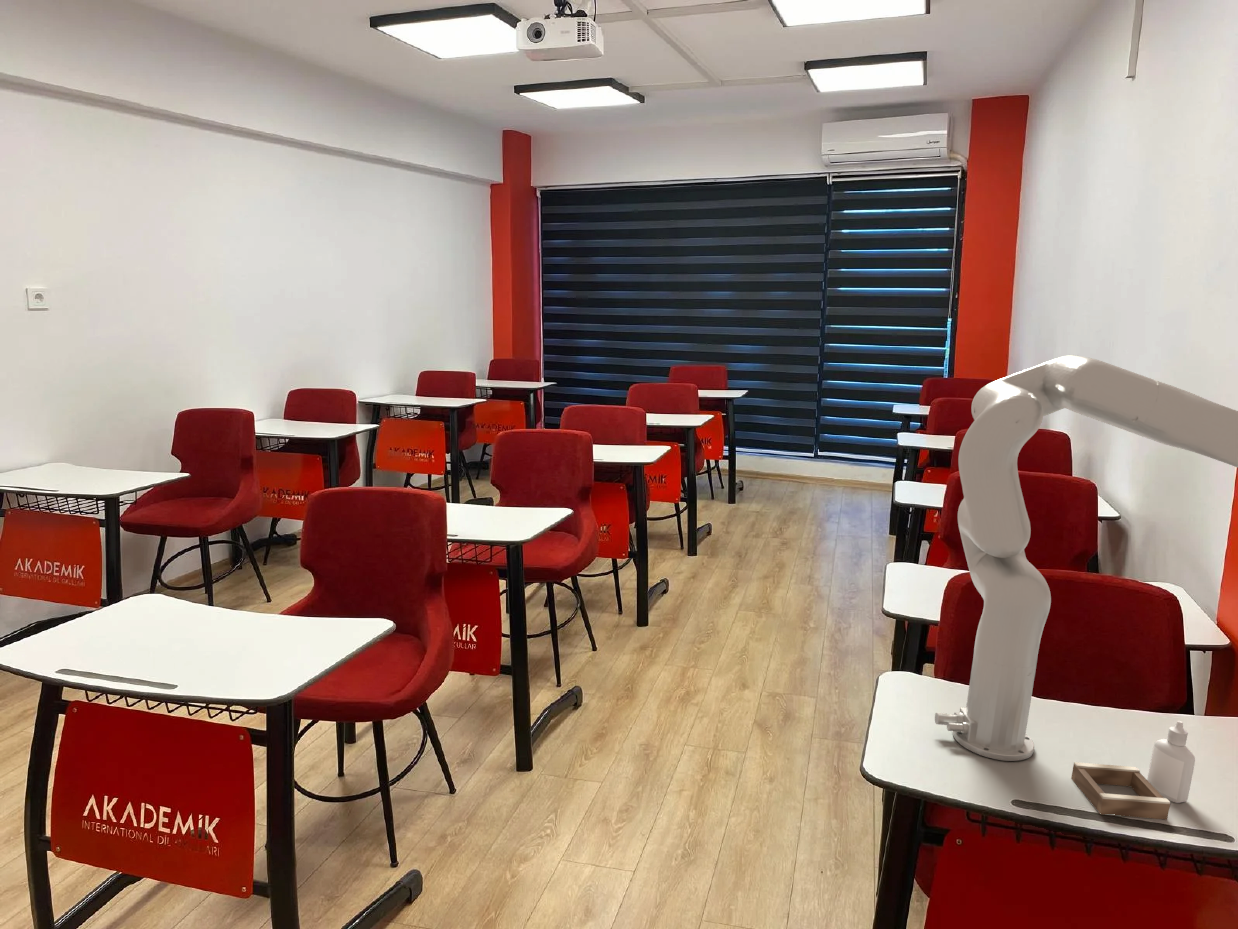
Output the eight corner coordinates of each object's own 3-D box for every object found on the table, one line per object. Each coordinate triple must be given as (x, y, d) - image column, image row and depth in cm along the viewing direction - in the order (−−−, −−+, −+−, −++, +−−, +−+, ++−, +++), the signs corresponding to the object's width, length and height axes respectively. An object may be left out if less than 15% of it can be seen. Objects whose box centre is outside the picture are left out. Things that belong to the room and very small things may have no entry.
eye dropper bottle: (1158, 802, 131) (1172, 729, 129) (1143, 781, 136) (1156, 711, 134) (1190, 806, 130) (1205, 732, 128) (1173, 785, 136) (1187, 714, 133)
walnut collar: (1100, 814, 127) (1103, 797, 126) (1071, 778, 136) (1073, 762, 136) (1167, 819, 126) (1170, 802, 126) (1133, 783, 136) (1136, 767, 135)
